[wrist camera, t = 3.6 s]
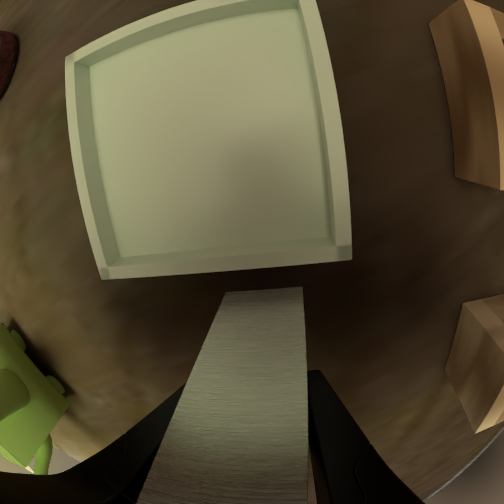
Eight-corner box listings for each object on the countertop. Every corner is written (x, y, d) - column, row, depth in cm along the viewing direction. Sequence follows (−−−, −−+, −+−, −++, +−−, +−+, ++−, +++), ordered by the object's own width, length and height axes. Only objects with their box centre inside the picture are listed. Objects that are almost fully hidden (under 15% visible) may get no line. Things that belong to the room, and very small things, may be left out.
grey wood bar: (306, 347, 12) (303, 558, 3) (238, 350, 12) (184, 546, 4) (302, 286, 11) (304, 543, 2) (225, 292, 11) (130, 516, 3)
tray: (343, 244, 12) (352, 259, 10) (120, 265, 14) (101, 279, 12) (308, 3, 8) (310, -17, 7) (86, 63, 10) (65, 57, 9)
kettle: (62, 335, 17) (-27, 436, 6) (104, 437, 22) (62, 514, 12) (-27, 290, 18) (-94, 342, 7) (14, 386, 23) (-30, 439, 13)
